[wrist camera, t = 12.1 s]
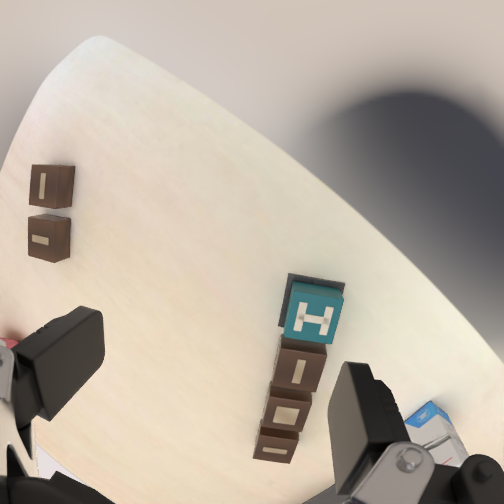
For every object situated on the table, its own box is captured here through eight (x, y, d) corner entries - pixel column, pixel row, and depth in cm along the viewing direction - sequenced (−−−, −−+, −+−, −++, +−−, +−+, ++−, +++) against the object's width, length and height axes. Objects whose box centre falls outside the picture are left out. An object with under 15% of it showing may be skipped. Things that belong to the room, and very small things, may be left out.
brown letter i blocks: (47, 164, 31) (31, 164, 28) (75, 166, 31) (58, 166, 28) (43, 250, 34) (27, 255, 31) (69, 257, 33) (53, 263, 30)
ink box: (430, 398, 32) (473, 481, 18) (447, 413, 32) (488, 490, 18) (379, 439, 34) (401, 527, 20) (398, 451, 34) (422, 533, 20)
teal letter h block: (293, 280, 31) (293, 291, 28) (339, 288, 30) (344, 299, 27) (284, 323, 32) (283, 337, 29) (328, 330, 31) (331, 345, 28)
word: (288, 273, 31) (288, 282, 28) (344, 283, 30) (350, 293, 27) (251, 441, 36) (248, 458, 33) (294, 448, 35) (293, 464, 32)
